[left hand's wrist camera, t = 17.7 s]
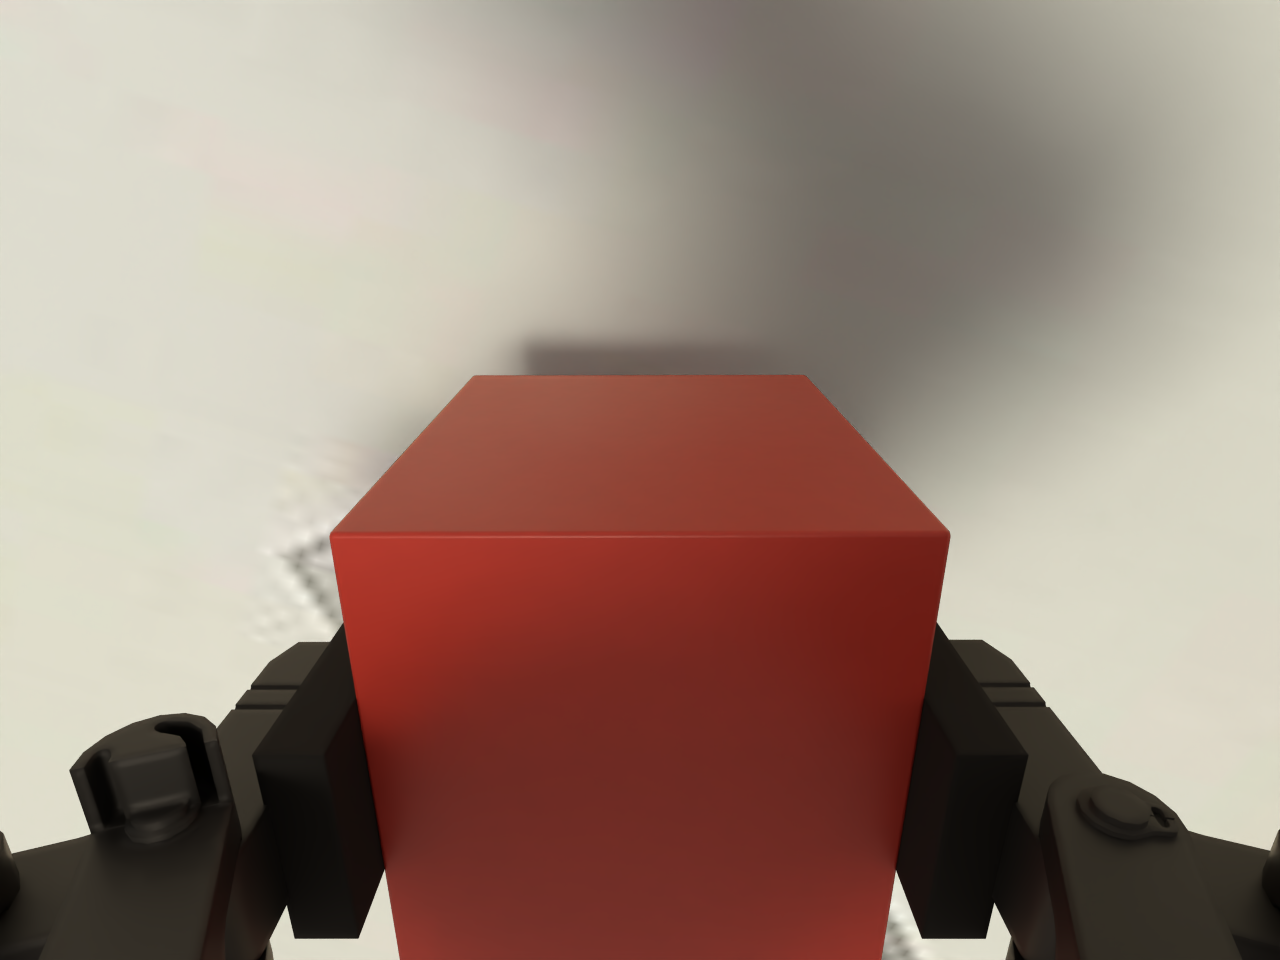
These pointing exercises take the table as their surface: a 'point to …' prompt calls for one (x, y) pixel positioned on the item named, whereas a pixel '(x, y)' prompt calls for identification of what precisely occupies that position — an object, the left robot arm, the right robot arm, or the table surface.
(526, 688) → the block
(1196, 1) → the table surface
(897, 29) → the table surface
